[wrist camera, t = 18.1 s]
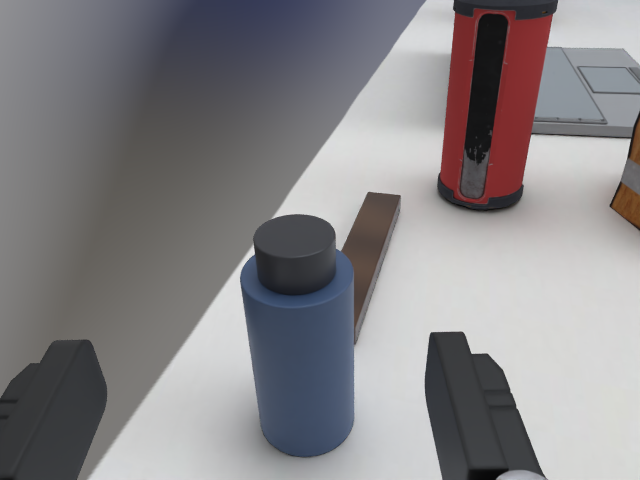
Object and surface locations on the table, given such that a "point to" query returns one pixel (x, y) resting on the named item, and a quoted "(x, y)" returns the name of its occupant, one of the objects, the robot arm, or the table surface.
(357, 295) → the walnut strip
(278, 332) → the water bottle
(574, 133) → the laptop
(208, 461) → the table surface
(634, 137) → the mug
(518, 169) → the speaker
